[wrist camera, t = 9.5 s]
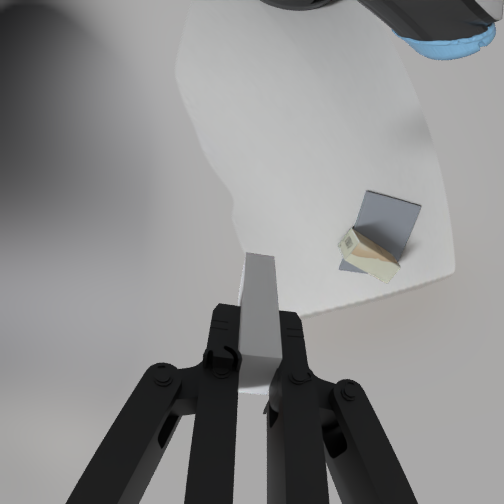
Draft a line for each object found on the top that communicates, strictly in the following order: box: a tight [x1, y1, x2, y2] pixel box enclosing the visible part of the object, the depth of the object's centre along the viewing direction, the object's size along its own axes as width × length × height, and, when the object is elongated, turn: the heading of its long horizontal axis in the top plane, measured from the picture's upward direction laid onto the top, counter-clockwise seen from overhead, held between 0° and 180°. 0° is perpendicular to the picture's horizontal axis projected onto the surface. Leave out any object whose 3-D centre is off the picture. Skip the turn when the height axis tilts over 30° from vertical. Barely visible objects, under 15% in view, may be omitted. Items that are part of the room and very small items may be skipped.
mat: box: [339, 191, 421, 274], centre depth 48 cm, size 16×12×1 cm
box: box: [338, 228, 401, 284], centre depth 47 cm, size 5×4×11 cm
